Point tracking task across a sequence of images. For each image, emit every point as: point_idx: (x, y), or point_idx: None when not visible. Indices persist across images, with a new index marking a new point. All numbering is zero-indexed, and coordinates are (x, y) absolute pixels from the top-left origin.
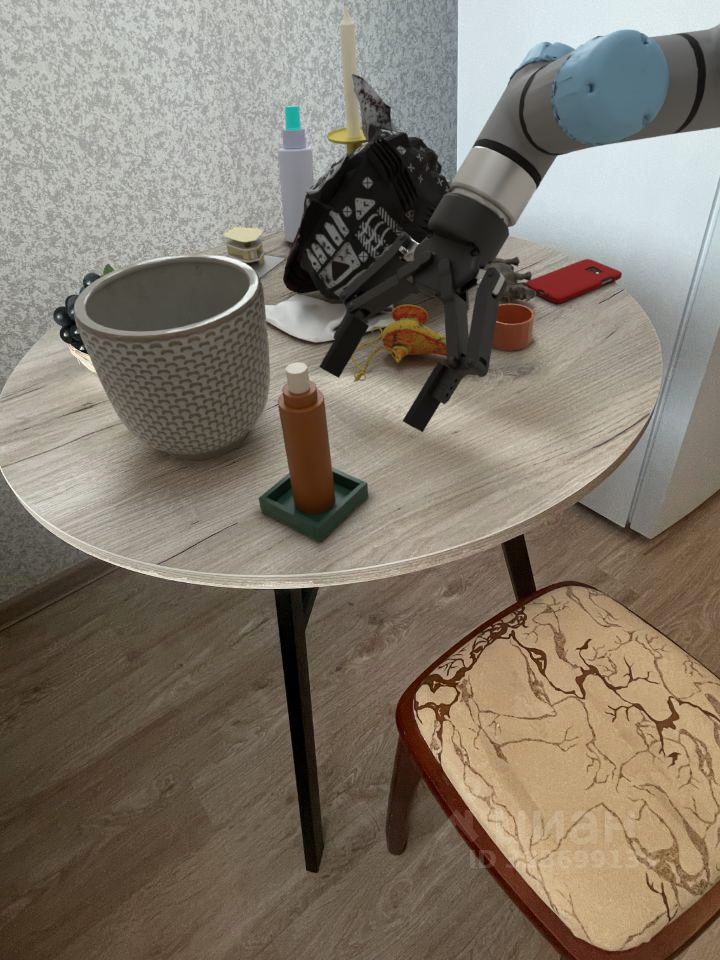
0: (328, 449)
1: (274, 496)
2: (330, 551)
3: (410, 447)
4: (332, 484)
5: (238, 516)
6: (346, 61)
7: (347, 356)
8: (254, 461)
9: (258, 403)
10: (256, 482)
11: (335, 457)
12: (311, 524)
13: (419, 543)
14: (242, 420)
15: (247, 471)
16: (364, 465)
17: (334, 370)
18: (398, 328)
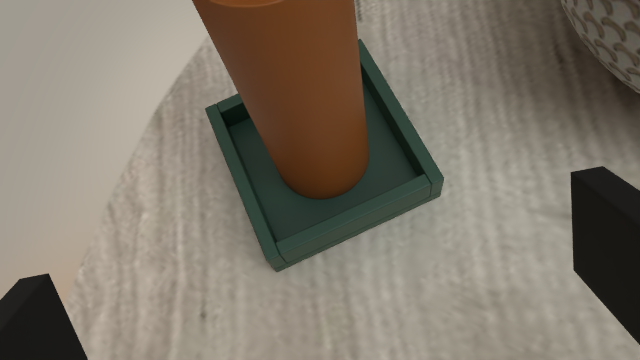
0: (252, 111)
1: (365, 78)
2: (188, 136)
3: None
4: (279, 166)
5: (377, 26)
6: None
7: (630, 312)
8: (543, 99)
9: (628, 44)
10: (463, 81)
11: (463, 272)
12: (223, 101)
13: (92, 296)
14: (575, 2)
15: (512, 76)
16: (392, 323)
17: (582, 239)
18: None
